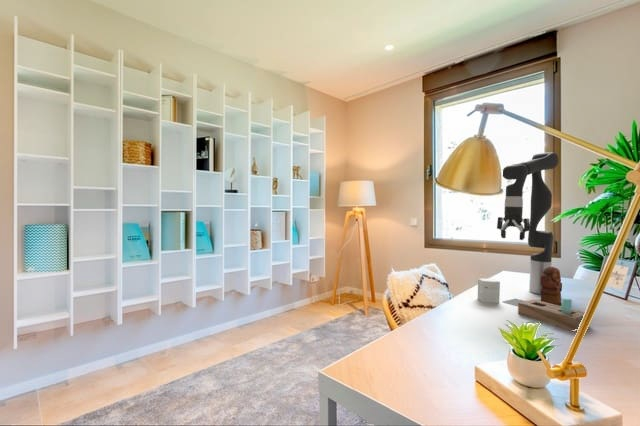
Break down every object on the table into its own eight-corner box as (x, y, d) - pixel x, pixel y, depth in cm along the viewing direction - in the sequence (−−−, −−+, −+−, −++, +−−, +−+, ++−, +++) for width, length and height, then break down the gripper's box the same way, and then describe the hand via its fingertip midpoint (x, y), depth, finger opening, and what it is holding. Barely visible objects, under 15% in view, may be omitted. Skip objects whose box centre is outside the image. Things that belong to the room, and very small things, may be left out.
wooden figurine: (554, 309, 141) (556, 269, 140) (538, 305, 146) (539, 267, 145) (564, 304, 147) (565, 267, 147) (548, 301, 153) (549, 264, 152)
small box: (494, 300, 153) (494, 278, 153) (499, 303, 147) (500, 281, 147) (477, 299, 154) (477, 278, 153) (481, 302, 148) (482, 280, 148)
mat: (515, 299, 155) (515, 298, 155) (542, 306, 145) (542, 305, 145) (501, 302, 149) (501, 301, 149) (528, 310, 139) (528, 309, 139)
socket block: (533, 310, 139) (533, 299, 139) (588, 326, 121) (589, 313, 121) (517, 314, 133) (518, 302, 133) (574, 331, 115) (575, 318, 115)
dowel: (563, 322, 125) (564, 297, 125) (572, 324, 122) (573, 299, 122) (559, 323, 123) (560, 298, 123) (568, 326, 121) (569, 300, 121)
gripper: (533, 206, 149) (532, 240, 149) (503, 205, 161) (502, 237, 161) (524, 206, 145) (523, 241, 145) (494, 205, 157) (493, 237, 158)
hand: (512, 238), depth 153 cm, fingers open, 8 cm apart
